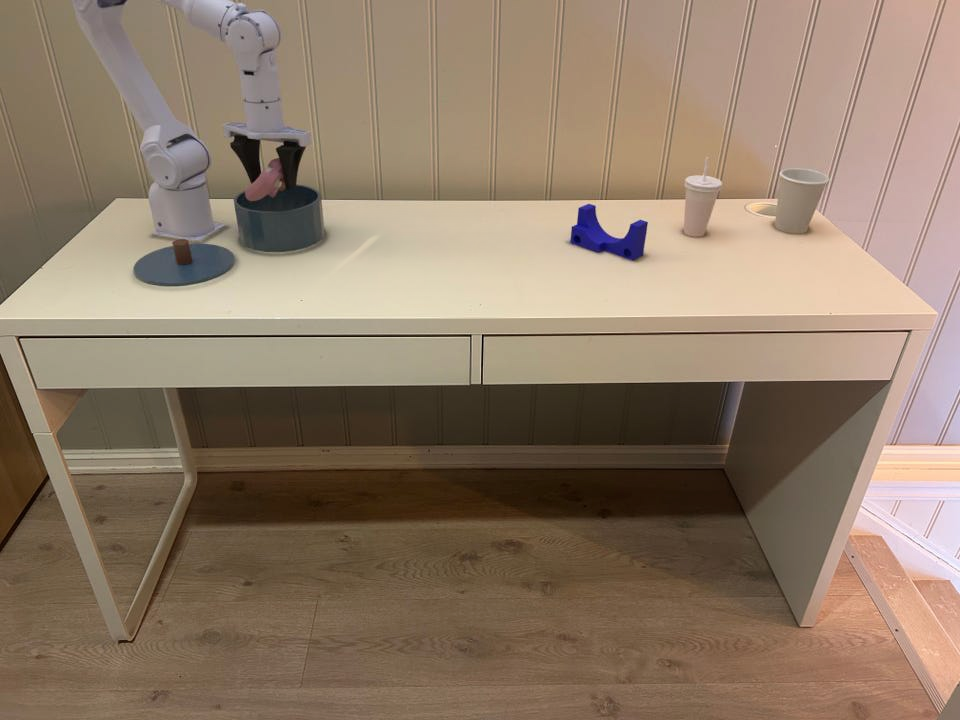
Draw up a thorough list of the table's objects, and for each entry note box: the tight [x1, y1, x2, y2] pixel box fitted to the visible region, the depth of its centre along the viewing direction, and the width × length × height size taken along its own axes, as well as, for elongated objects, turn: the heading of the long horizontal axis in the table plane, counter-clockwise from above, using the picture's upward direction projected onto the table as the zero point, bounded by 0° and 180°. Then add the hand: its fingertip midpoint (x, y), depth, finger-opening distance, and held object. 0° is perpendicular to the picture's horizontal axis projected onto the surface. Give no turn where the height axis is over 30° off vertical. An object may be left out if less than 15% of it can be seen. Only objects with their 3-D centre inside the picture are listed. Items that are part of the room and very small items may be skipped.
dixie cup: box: [774, 167, 830, 234], centre depth 133 cm, size 8×8×10 cm
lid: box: [133, 238, 235, 287], centre depth 115 cm, size 15×15×4 cm
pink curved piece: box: [244, 157, 286, 201], centre depth 119 cm, size 10×5×7 cm, turn 168°
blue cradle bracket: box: [569, 203, 649, 261], centre depth 124 cm, size 12×4×6 cm, turn 47°
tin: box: [233, 183, 326, 253], centre depth 125 cm, size 14×14×7 cm
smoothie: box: [683, 156, 723, 238], centre depth 129 cm, size 6×6×14 cm
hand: (273, 185), depth 120 cm, fingers closed on pink curved piece, 6 cm apart
